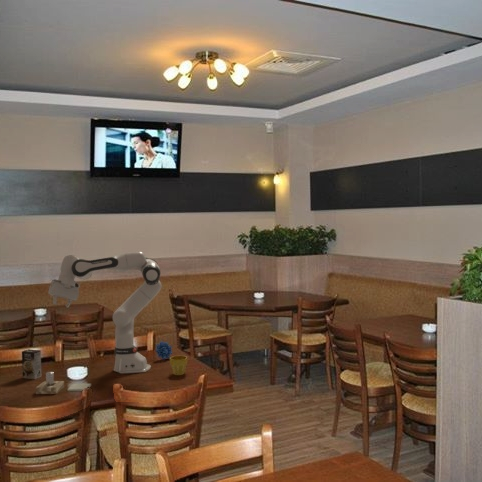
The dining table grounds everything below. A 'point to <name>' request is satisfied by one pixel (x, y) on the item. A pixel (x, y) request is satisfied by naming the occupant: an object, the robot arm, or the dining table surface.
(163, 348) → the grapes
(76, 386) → the sage plate
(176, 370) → the plant pot
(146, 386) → the dining table surface
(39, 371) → the coffee box
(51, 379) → the metal peg
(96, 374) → the dining table surface
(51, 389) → the pocket block
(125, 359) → the robot arm
